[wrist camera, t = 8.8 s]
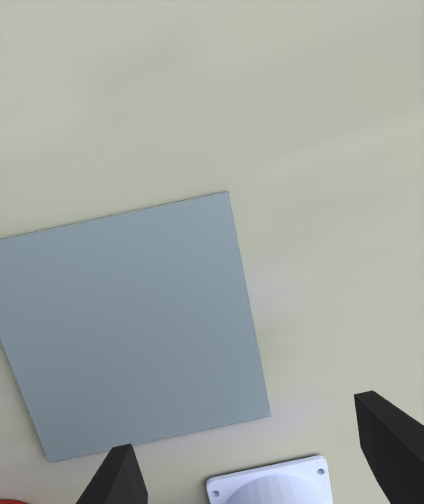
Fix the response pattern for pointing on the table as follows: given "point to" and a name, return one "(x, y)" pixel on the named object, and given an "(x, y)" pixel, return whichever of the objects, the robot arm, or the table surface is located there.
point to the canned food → (10, 502)
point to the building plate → (131, 327)
